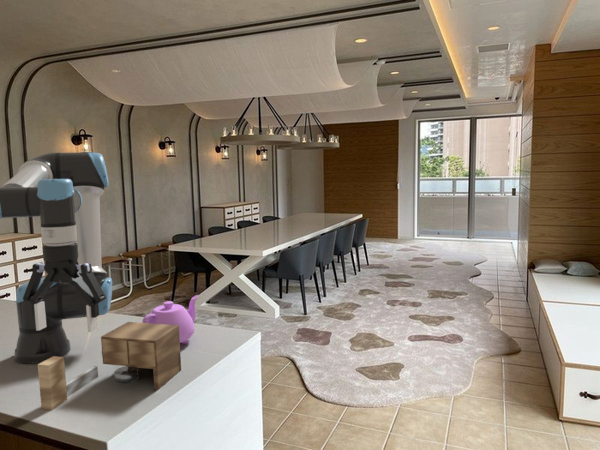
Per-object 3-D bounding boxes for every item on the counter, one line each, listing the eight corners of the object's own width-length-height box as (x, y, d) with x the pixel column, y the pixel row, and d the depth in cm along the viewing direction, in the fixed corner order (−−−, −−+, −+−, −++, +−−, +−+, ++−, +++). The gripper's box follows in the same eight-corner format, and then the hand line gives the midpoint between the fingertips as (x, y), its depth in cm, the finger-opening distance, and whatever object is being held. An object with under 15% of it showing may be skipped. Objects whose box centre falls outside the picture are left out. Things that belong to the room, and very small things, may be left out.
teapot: (186, 328, 166) (184, 290, 165) (214, 337, 156) (213, 297, 155) (129, 346, 150) (126, 305, 148) (156, 359, 140) (154, 314, 138)
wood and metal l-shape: (52, 409, 111) (48, 365, 109) (41, 408, 111) (37, 364, 110) (101, 376, 128) (98, 338, 127) (91, 376, 129) (89, 337, 127)
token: (110, 383, 125) (109, 374, 124) (123, 373, 130) (123, 365, 130) (129, 385, 123) (129, 376, 123) (142, 375, 129) (142, 366, 129)
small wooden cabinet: (103, 384, 124) (100, 336, 122) (130, 365, 135) (128, 321, 134) (158, 390, 120) (155, 341, 118) (181, 369, 132) (178, 325, 130)
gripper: (1, 245, 110) (9, 333, 112) (99, 246, 106) (106, 336, 109) (24, 241, 117) (31, 323, 120) (117, 241, 114) (122, 325, 116)
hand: (66, 329), depth 114 cm, fingers open, 13 cm apart
